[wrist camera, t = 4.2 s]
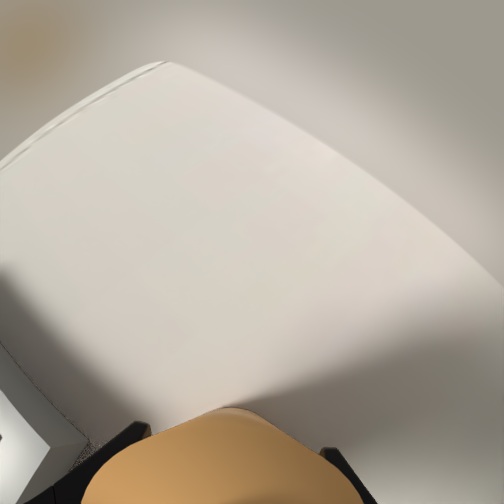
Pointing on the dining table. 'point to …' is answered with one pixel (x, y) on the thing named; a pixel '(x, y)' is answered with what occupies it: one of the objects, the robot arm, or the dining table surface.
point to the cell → (220, 467)
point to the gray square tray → (31, 437)
